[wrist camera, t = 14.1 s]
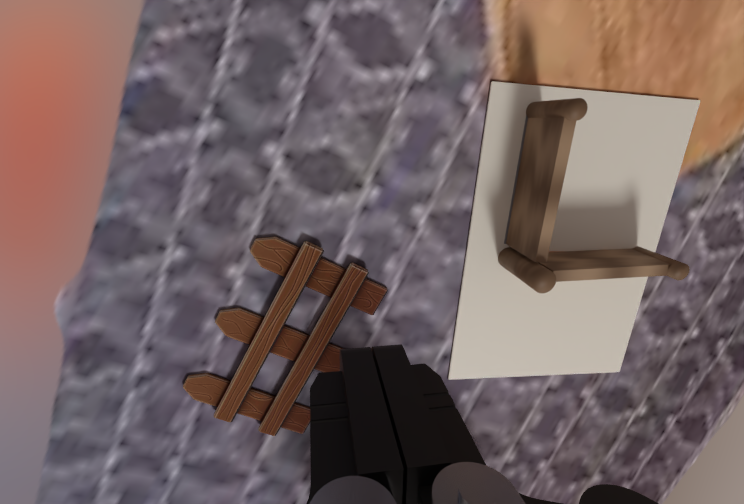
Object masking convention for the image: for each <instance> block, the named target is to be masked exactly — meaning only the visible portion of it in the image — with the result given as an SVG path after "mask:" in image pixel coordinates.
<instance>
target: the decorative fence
mask: <svg viewBox="0 0 744 504" xmlns="http://www.w3.org/2000/svg"><path fill="white" fill-rule="evenodd" d="M250 252H251V254H252V255H253V256H254V258H255V259H256V261H257V262H258V264H259V265H260V266H261V267H262V268H265V269H267V270H269V271H272V272H274V273H276V274H279V275H281V276H283V277H285V279H284V281H283V283H282V285H281V287H280V289H279V291H278V292H277V294H276V296H275V298H274V300H273V302H272V304H271V306H270V308H269V310H268V312H267V313H266V315H265V317H263V316H260V315H258V314H255V313H253V312H250V311H248V310H245V309H243V308H231V309H223V310H220V312H219V314H218V316H217V318H216V320H215V323H216V324H217V325H218V327H219V328H220V329H221V330H222V332H223V333H224V334H225V335H226V336H228V337H230V338H233V339H236V340H238V341H241V342H244V343H246V344H249V345H250V346H249V348H248V350H247V352H246V354H245V356H244V357H243V359H242V361H241V363H240V365H239V367H238V369H237V371H236V373H235V375H234V377H233V379H232V380H231V381H230V380H227V379H224V378H221V377H218V376H215V375H212V374H210V373H201V374H194V375H189V376H188V377H187V379H186V381H185V383H184V385H183V388H184V389H185V390H186V391H187V392H188V394H189V395H190V396H191V397H192V398H193V399H194V400H197V401H200V402H203V403H207V404H210V405H213V406H216V407H217V409H216V411H215V413H214V417H215V418H218V419H221V420H224V421H227V422H232V421H233V419H234V418H235V416H236V414H237V413H238V414H241V415H244V416H247V417H251V418H254V419H257V420H260V421H262V422H261V424H260V426H259V429H258V430H259V431H260V432H263V433H266V434H269V435H272V436H275V435H276V434H277V433H278V431H279V429H280V427H282V428H285V429H288V430H291V431H295V432H298V433H301V434H303V433H304V432H305V430H306V428H307V427H308V425H309V423H310V408H309V407H307V406H304V405H301V404H298V403H295V401H296V399H297V398H298V396H299V394H300V392H301V391H302V389H303V387H304V385H305V384H306V382H307V380H308V378H309V377H310V375H311V373H312V371H313V370H314V369H316V370H319V371H321V372H335V371H340V349H343V348H341V347H338V346H336V345H333V344H331V343H329V342H330V340H331V338H332V336H333V335H334V333H335V331H336V329H337V328H338V326H339V324H340V322H341V321H342V319H343V317H344V315H345V314H346V312H347V310H348V308H349V307H350V306H352V307H354V308H357V309H359V310H361V311H363V312H366V313H368V314H370V315H374V313H375V311H376V310H377V308H378V306H379V304H380V303H381V301H382V299H383V298H384V296H385V294H386V293H387V291H388V290H387V288H386V287H384V286H382V285H379V284H377V283H375V282H373V281H371V280H369V279H366V277H367V275H368V273H369V272H368V270H367V269H365V268H363V267H361V266H359V265H357V264H355V263H350V264H349V266H348V268H347V269H345V268H343V267H341V266H338V265H336V264H334V263H332V262H330V261H328V260H326V259H323V258H321V256H322V254H323V252H324V251H323V248H321V247H319V246H316V245H314V244H312V243H310V242H308V241H304V243H303V245H302V246H301V248H300V247H298V246H295V245H293V244H291V243H289V242H287V241H285V240H282V239H280V238H278V237H265V238H256V239H255V241H254V243H253V245H252V247H251V249H250ZM305 286H306V287H308V288H311V289H313V290H315V291H318V292H320V293H322V294H324V295H327V296H329V297H331V299H330V300H329V302H328V304H327V306H326V308H325V309H324V311H323V313H322V315H321V317H320V318H319V320H318V322H317V324H316V325H315V327H314V329H313V331H312V333H311V334H310V335H308V334H306V333H303V332H300V331H298V330H295V329H293V328H290V327H288V326H285V323H286V321H287V319H288V317H289V315H290V313H291V312H292V310H293V308H294V306H295V304H296V302H297V300H298V299H299V297H300V295H301V293H302V291H303V289H304V287H305ZM269 352H270V353H273V354H276V355H278V356H281V357H284V358H287V359H289V360H292V361H295V363H294V365H293V367H292V369H291V370H290V372H289V374H288V376H287V378H286V379H285V381H284V383H283V385H282V387H281V388H280V390H279V392H278V394H277V395H276V396H274V395H271V394H268V393H265V392H262V391H259V390H257V389H254V388H251V386H252V384H253V382H254V380H255V379H256V377H257V375H258V373H259V371H260V369H261V367H262V366H263V364H264V362H265V360H266V358H267V356H268V354H269Z"/></svg>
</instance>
